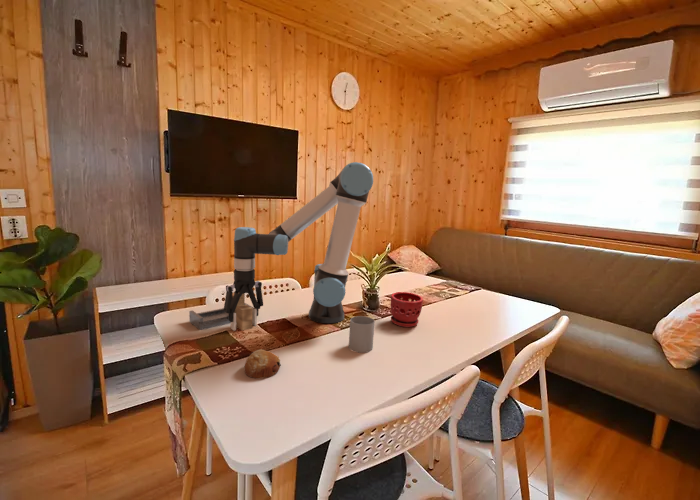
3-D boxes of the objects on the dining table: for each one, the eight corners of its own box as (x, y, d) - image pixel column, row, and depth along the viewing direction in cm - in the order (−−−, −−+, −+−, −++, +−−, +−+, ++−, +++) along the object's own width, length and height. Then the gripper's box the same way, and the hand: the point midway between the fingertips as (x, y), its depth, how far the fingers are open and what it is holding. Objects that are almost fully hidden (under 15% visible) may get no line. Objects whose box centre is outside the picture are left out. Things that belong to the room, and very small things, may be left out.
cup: (370, 354, 122) (372, 326, 120) (346, 350, 124) (348, 322, 122) (373, 344, 130) (375, 317, 128) (351, 341, 132) (353, 314, 130)
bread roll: (254, 373, 113) (243, 351, 111) (284, 360, 113) (274, 338, 111) (248, 390, 103) (235, 366, 101) (281, 376, 103) (269, 352, 101)
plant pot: (382, 322, 152) (384, 295, 150) (400, 316, 162) (403, 290, 160) (409, 332, 143) (411, 303, 142) (426, 324, 153) (429, 297, 151)
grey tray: (253, 317, 149) (253, 294, 148) (200, 330, 134) (199, 304, 132) (241, 311, 156) (241, 288, 155) (189, 322, 141) (189, 297, 139)
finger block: (244, 323, 142) (244, 304, 141) (252, 328, 138) (252, 308, 137) (235, 326, 140) (235, 306, 138) (242, 330, 136) (242, 310, 134)
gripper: (263, 264, 145) (262, 318, 149) (213, 269, 130) (213, 329, 134) (273, 267, 140) (272, 324, 143) (222, 274, 125) (222, 336, 129)
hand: (243, 326), depth 139 cm, fingers open, 8 cm apart
